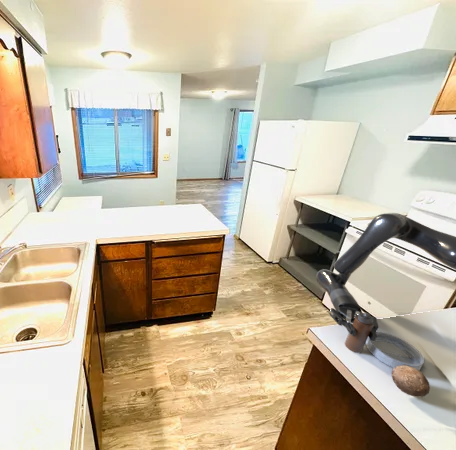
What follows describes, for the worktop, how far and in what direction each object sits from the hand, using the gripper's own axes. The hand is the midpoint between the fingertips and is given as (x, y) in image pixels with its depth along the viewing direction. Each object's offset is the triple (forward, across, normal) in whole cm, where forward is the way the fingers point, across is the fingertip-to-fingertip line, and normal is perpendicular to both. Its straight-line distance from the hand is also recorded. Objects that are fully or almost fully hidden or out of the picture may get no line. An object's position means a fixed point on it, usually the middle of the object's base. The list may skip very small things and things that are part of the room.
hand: (364, 336), depth 76 cm
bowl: (-4, +11, +8) cm, 14 cm away
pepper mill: (-3, 0, +8) cm, 8 cm away
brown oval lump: (+8, +9, +8) cm, 15 cm away
